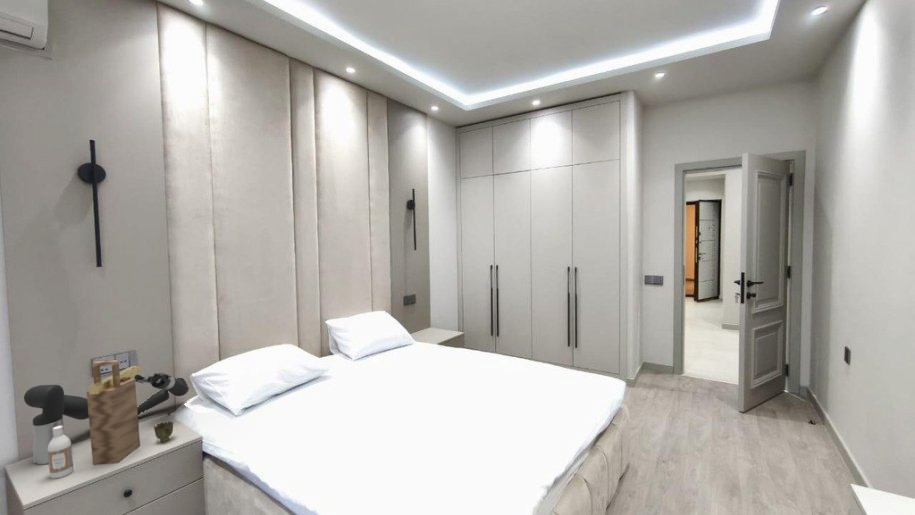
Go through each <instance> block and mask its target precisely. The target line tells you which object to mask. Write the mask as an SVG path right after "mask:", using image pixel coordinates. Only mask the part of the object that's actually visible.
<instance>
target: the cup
mask: <svg viewBox="0 0 915 515" xmlns="http://www.w3.org/2000/svg"><path fill="white" fill-rule="evenodd" d="M153 429H154V433H155V434H154V435H155V437H156V439H158V440H159V441H160V443H165V442H168V441H169V440H170V437H171V436H172V434H173V431H174V422H173V421H171V420H168V421H165V422H163V421H161V422H160V423H157V424H156V426H155V425H154V426H153Z"/></svg>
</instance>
